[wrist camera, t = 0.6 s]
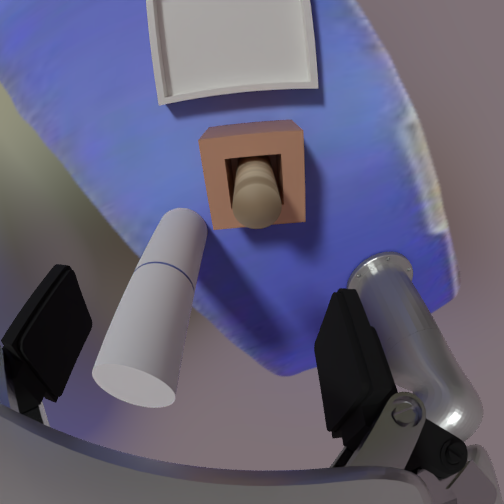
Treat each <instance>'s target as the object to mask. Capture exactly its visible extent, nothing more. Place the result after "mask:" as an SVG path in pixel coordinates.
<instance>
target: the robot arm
mask: <svg viewBox="0 0 504 504" xmlns="http://www.w3.org/2000/svg"><path fill="white" fill-rule="evenodd" d="M412 277H413V269H412V266H411V264H410V262H409V261H408V259H407V258H406V257H405V256H403V255H402V254H400V253H397V252H383V253H378V254H376V255H373V256H371V257H369V258H368V259H366V260H365V261H363V262H362V263H361V264H359V266H358V267H357V268H356V269H355V270H354V271H353V273H352V274H351V276H350V278H349V280H348V283H347V289H342V288H340V289H339V290H338V291H337V292H334V293H333V294H332V297H331V300H330V303H329V305H328V308H327V311H326V314H325V317H324V320H323V322H322V325H321V328H320V331H319V333H318V336H317V339H316V341H315V347H314V351H315V357H316V363H317V369H318V375H319V381H320V387H321V394H322V400H323V407H324V413H325V420H326V427H327V430H328V431H329V432H330V431H332V437H333V438H339V437H342V439H343V445H344V446H345V447H344V448H343V450H342V451H341V453H340V454H339V455H338V457H337V458H336V459H335V461H334V462H333V464H332V465H331V466H330V468H322V469H310V470H289V471H288V470H286V471H251V470H250V471H249V470H229V469H228V470H227V469H215V468H206V467H197V466H190V465H182V464H176V463H169V462H164V461H159V460H154V459H149V458H144V457H140V456H136V455H132V454H128V453H124V452H120V451H116V450H113V449H110V448H106V447H103V446H100V445H96V444H93V443H90V442H87V441H85V440H82V439H79V438H76V437H73V436H71V435H68V434H66V433H63V432H60V431H58V430H55V429H53V428H51V427H50V426H49V423H48V420H47V416H46V413H45V410H44V406H43V403H42V400H43V397H45V398H46V399H48V400H51V401H53V402H56V401H57V399H58V397H60V396H61V395H62V393H63V391H64V388H65V386H66V384H67V381H68V379H69V376H70V374H71V371H72V369H73V367H74V365H75V363H76V360H77V358H78V356H79V354H80V351H81V350H82V347H83V345H84V343H85V341H86V339H87V337H88V335H89V333H90V331H91V328H92V320H91V317H90V314H89V312H88V309H87V307H86V304H85V301H84V299H83V296H82V293H81V290H80V288H79V285H78V281H77V278H76V275H75V273H74V271H73V270H72V269H71V267H70V266H67V265H59V264H56V265H55V266H54V267H53V268H52V269H51V270H50V272H49V273H48V274H47V276H46V277H45V278H44V279H43V281H42V282H41V283H40V285H39V286H38V287H37V289H36V290H35V291H34V293H33V294H32V295H31V297H30V298H29V299H28V301H27V302H26V304H25V305H24V306H23V308H22V309H21V311H20V312H19V314H18V315H17V317H16V318H15V320H14V321H13V323H12V324H11V326H10V327H9V329H8V330H7V332H6V333H5V335H4V337H3V338H2V340H1V341H2V343H3V345H4V346H3V348H1V346H0V504H504V503H503V501H502V497H501V493H500V489H499V485H498V481H497V478H496V474H495V471H494V468H493V465H492V462H491V459H490V457H489V455H488V453H487V451H486V450H485V449H484V447H482V446H481V445H477V444H475V445H470V446H467V447H466V445H465V443H464V441H466V440H467V439H468V438H469V437H470V436H472V435H473V433H474V432H475V431H476V430H477V429H478V427H479V425H480V423H481V421H482V418H483V406H482V402H481V400H480V397H479V395H478V394H477V392H476V390H475V389H474V387H473V385H472V384H471V382H470V381H469V379H468V378H467V376H466V375H465V374H464V372H463V371H462V369H461V367H460V366H459V364H458V362H457V361H456V359H455V357H454V355H453V354H452V352H451V350H450V348H449V346H448V345H447V343H446V341H445V339H444V337H443V335H442V333H441V331H440V330H439V328H438V326H437V324H436V322H435V320H434V319H433V317H432V315H431V313H430V311H429V310H428V308H427V306H426V305H425V303H424V301H423V299H422V298H421V296H420V294H419V293H418V291H417V289H416V288H415V286H414V285H413V283H412ZM395 384H396V385H398V386H400V387H402V388H405V389H407V390H410V391H413V394H412V393H409V392H399V393H398V392H397V388H396V385H395Z"/></svg>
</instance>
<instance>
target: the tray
mask: <svg viewBox="0 0 504 504" xmlns="http://www.w3.org/2000/svg"><path fill="white" fill-rule="evenodd" d="M146 5H147V17H148V27H149V37H150V45H151V54H152V61H153V69H154V76H155V83H156V90H157V96H158V102H159V105H164V104H169V103H174V102H179V101H184V100H190V99H195V98H202V97H208V96H215V95H222V94H231V93H240V92H250V91H262V90H278V89H318V74H317V61H316V49H315V39H314V29H313V20H312V12H311V4H310V0H146Z"/></svg>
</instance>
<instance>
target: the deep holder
mask: <svg viewBox="0 0 504 504" xmlns="http://www.w3.org/2000/svg"><path fill="white" fill-rule="evenodd" d="M198 142H199V148H200V154H201V160H202V166H203V172H204V178H205V184H206V190H207V196H208V201H209V207H210V213H211V218H212V224H213V229H214V230H218V229H228V228H239V227H245V226H244V225H242V224H241V223H239V222H238V221H237V219H236V218H235V216H234V214H233V209H232V205H233V196H234V187H235V179H236V171H237V163H238V158H239V157H248V156H259V155H268V156H269V158H270V161H271V165H272V169H273V173H274V176H275V180H276V184H277V188H278V192H279V196H280V199H281V204H282V209H281V213H280V216H279V217H278V219H277V220H276V221H275V222H274V223H273V224H285V223H298V222H305V165H304V138H303V130H302V129H301V128H300V127H299V126H298V125H297V124H296V123H294V122H293V121H292V120H276V121H262V122H250V123H240V124H231V125H222V126H215V127H209V128H208V129H207V130H206V131H205V133H204V134H203V135H202V136H201V137H200V139H199V140H198ZM273 224H272V225H273Z"/></svg>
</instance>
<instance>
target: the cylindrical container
mask: <svg viewBox="0 0 504 504" xmlns="http://www.w3.org/2000/svg"><path fill="white" fill-rule="evenodd" d="M206 238H207V226H206V223H205V221H204V220H203V218H202V217H201V216H200V215H199V214H198V213H196V212H194V211H192V210H190V209H186V208H176V209H173V210H170V211H168V212H167V213H166V214H165V215H164V216H163V217H162V219H161V221H160V222H159V224H158V226H157V228H156V230H155V232H154V234H153V235H152V237H151V239H150V241H149V243H148V245H147V247H146V249H145V251H144V253H143V255H142V257H141V259H140V261H139V263H138V265H137V267H136V269H135V271H134V273H133V275H132V277H131V280H130V282H129V284H128V286H127V288H126V290H125V293H124V295H123V297H122V299H121V301H120V304H119V306H118V308H117V310H116V312H115V315H114V317H113V320H112V322H111V324H110V327H109V329H108V331H107V334H106V336H105V339H104V341H103V344H102V347H101V349H100V352H99V354H98V357H97V359H96V362H95V365H94V368H93V370H92V376H93V378H94V380H95V381H96V383H97V384H98V385H99V386H100V387H101V388H102V389H104V390H105V391H106V392H108V393H109V394H111V395H112V396H114V397H116V398H118V399H121V400H123V401H125V402H128V403H131V404H134V405H138V406H143V407H155V408H157V407H165V406H168V405H171V404H172V403H173V402H174V401H175V397H176V391H177V385H178V379H179V373H180V367H181V361H182V355H183V350H184V344H185V339H186V333H187V328H188V323H189V317H190V312H191V307H192V302H193V297H194V293H195V288H196V283H197V278H198V274H199V269H200V265H201V260H202V256H203V251H204V247H205V242H206Z"/></svg>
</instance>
